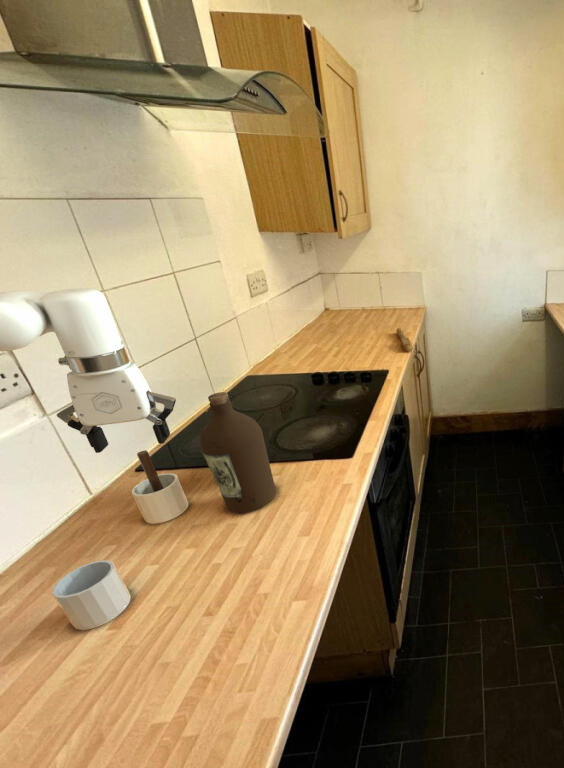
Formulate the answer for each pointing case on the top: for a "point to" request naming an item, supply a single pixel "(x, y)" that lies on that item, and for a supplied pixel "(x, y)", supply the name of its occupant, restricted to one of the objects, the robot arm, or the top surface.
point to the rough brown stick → (404, 340)
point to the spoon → (150, 471)
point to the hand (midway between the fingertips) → (134, 444)
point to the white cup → (160, 499)
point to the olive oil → (237, 457)
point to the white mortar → (92, 594)
